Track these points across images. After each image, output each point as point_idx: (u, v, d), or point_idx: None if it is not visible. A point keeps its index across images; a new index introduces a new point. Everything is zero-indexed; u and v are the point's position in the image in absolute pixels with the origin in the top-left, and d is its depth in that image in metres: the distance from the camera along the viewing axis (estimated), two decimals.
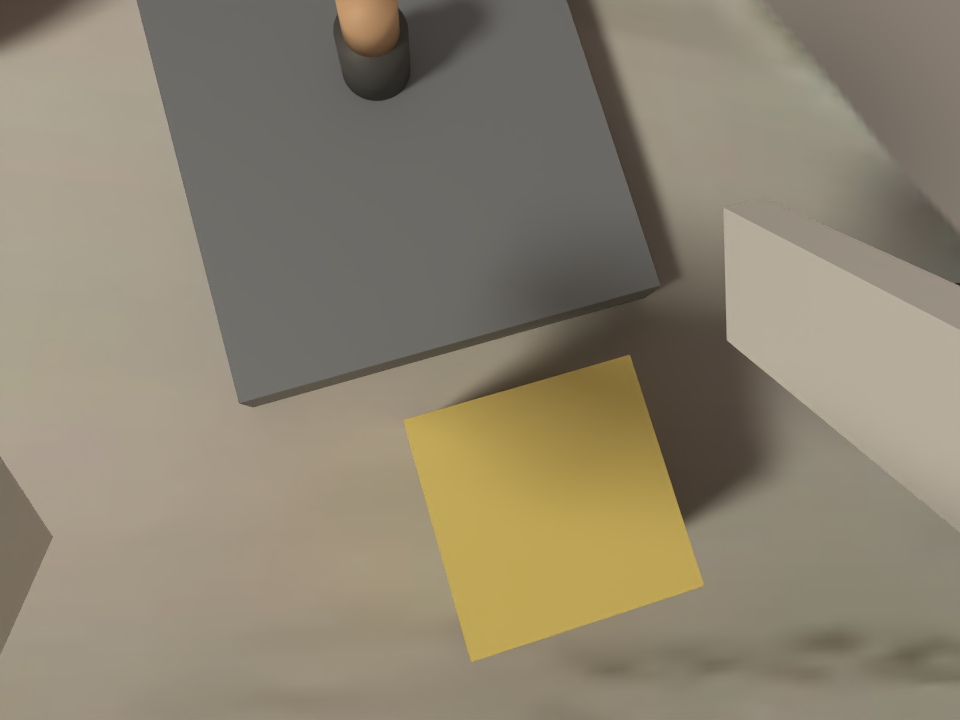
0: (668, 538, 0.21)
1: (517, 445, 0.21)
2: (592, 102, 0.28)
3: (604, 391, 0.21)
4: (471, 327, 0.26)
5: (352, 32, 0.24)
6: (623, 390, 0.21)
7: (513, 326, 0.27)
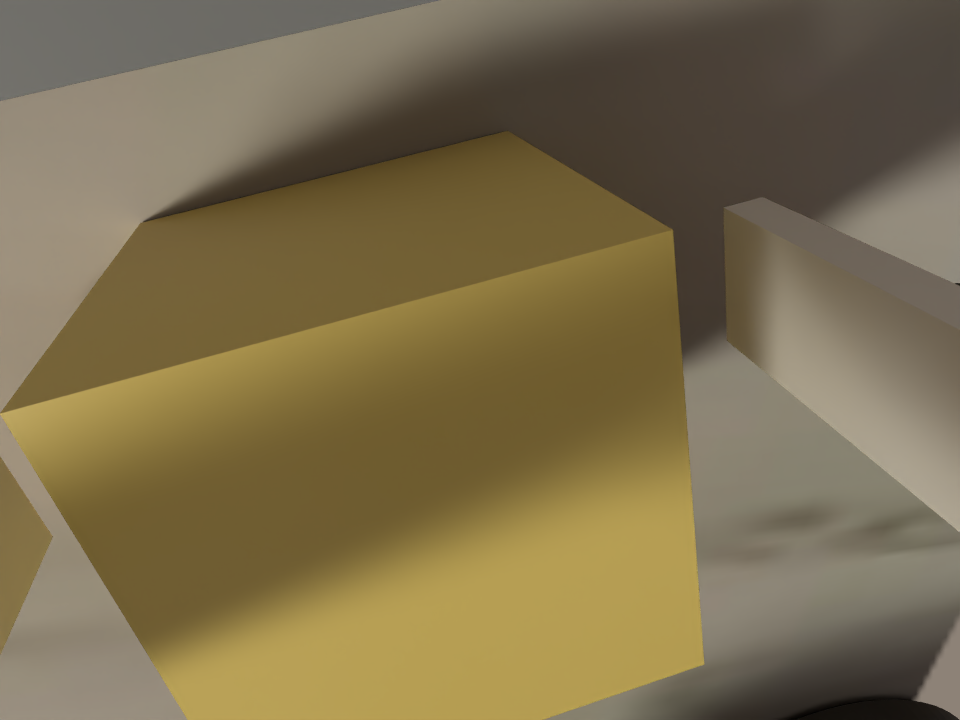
0: (661, 603, 0.10)
1: (347, 460, 0.08)
2: None
3: (587, 326, 0.08)
4: (253, 12, 0.10)
5: None
6: (635, 323, 0.08)
7: (363, 16, 0.11)
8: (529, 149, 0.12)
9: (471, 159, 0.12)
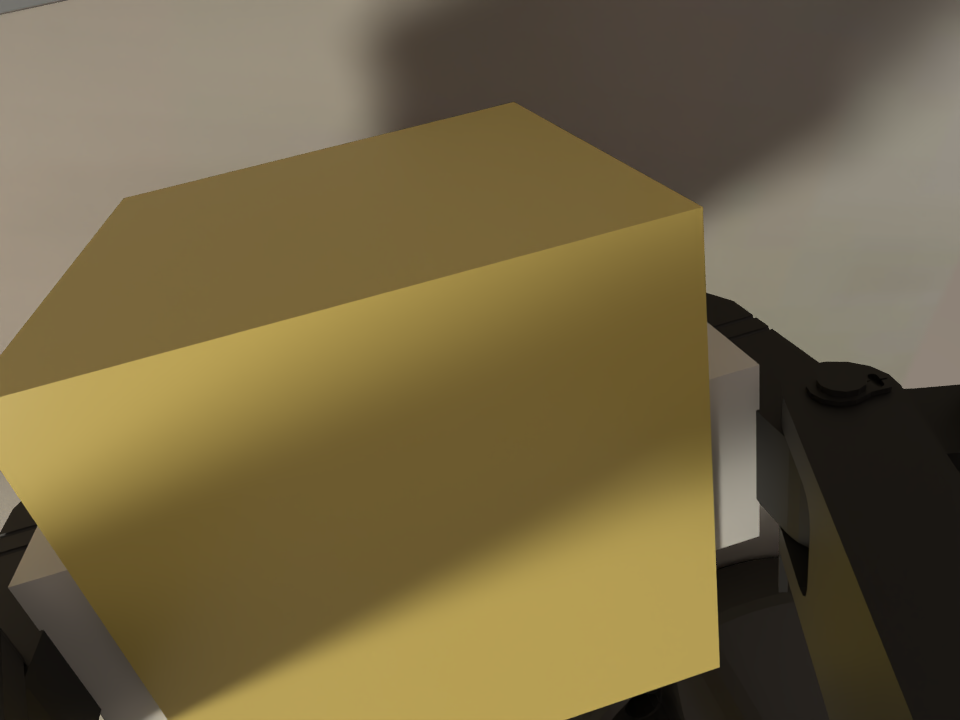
0: (677, 606, 0.10)
1: (344, 457, 0.07)
2: None
3: (606, 313, 0.07)
4: None
5: None
6: (659, 309, 0.07)
7: None
8: (538, 121, 0.11)
9: (476, 131, 0.12)
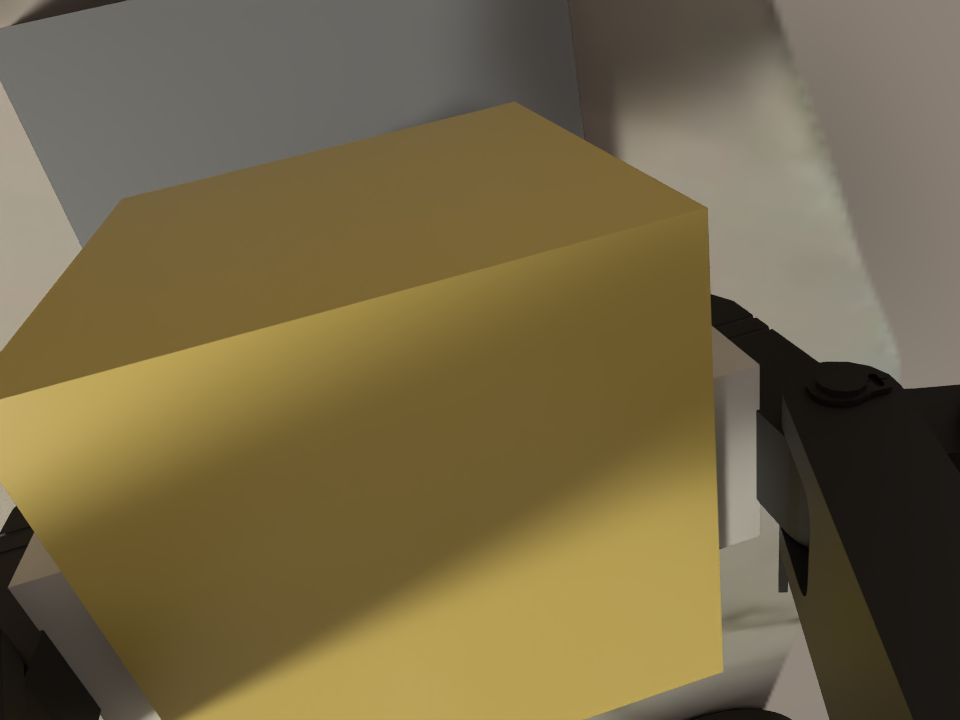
0: (680, 610, 0.10)
1: (345, 461, 0.07)
2: None
3: (610, 315, 0.07)
4: None
5: None
6: (663, 311, 0.07)
7: None
8: (539, 121, 0.11)
9: (477, 131, 0.11)
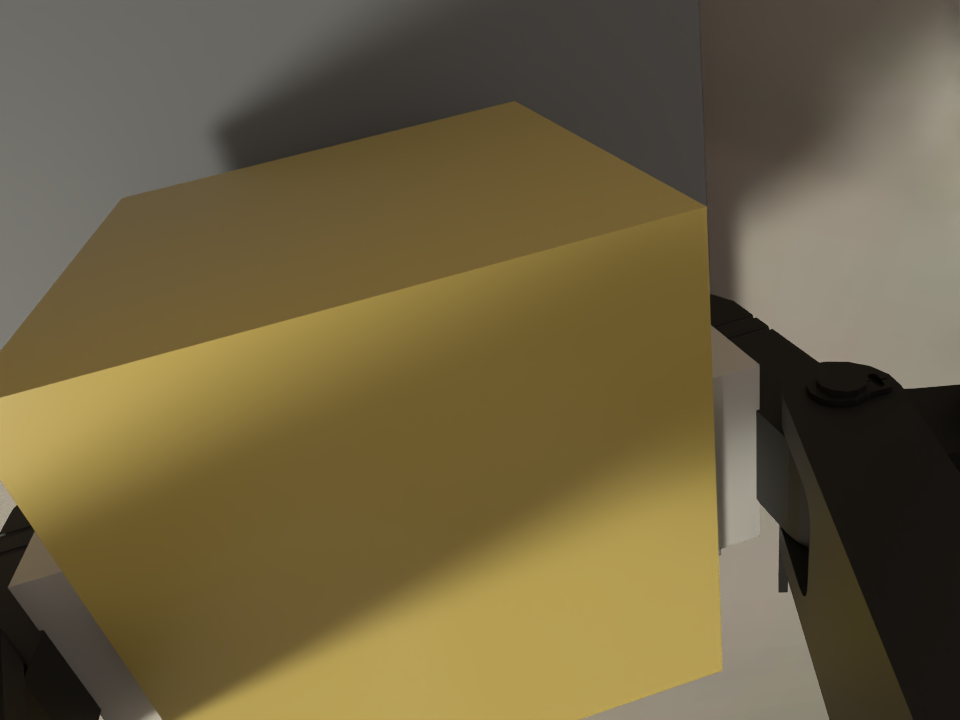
0: (679, 609, 0.10)
1: (344, 460, 0.07)
2: None
3: (609, 314, 0.07)
4: None
5: None
6: (662, 310, 0.07)
7: None
8: (539, 120, 0.11)
9: (476, 130, 0.11)
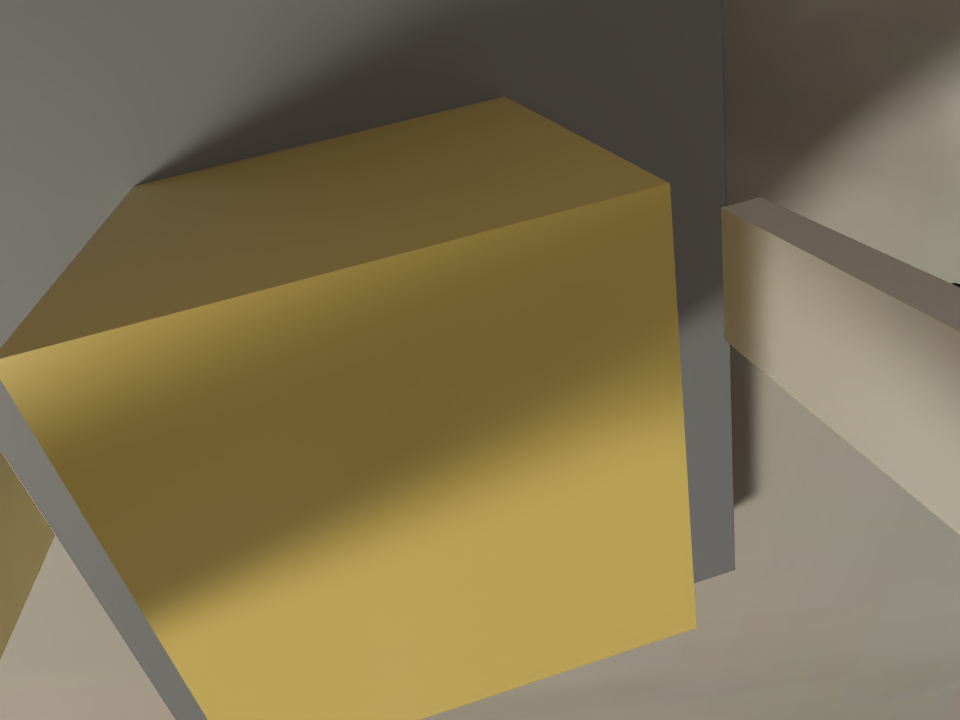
0: (654, 566, 0.10)
1: (341, 415, 0.08)
2: (718, 350, 0.18)
3: (582, 282, 0.08)
4: None
5: None
6: (631, 279, 0.08)
7: None
8: (526, 113, 0.12)
9: (467, 123, 0.12)
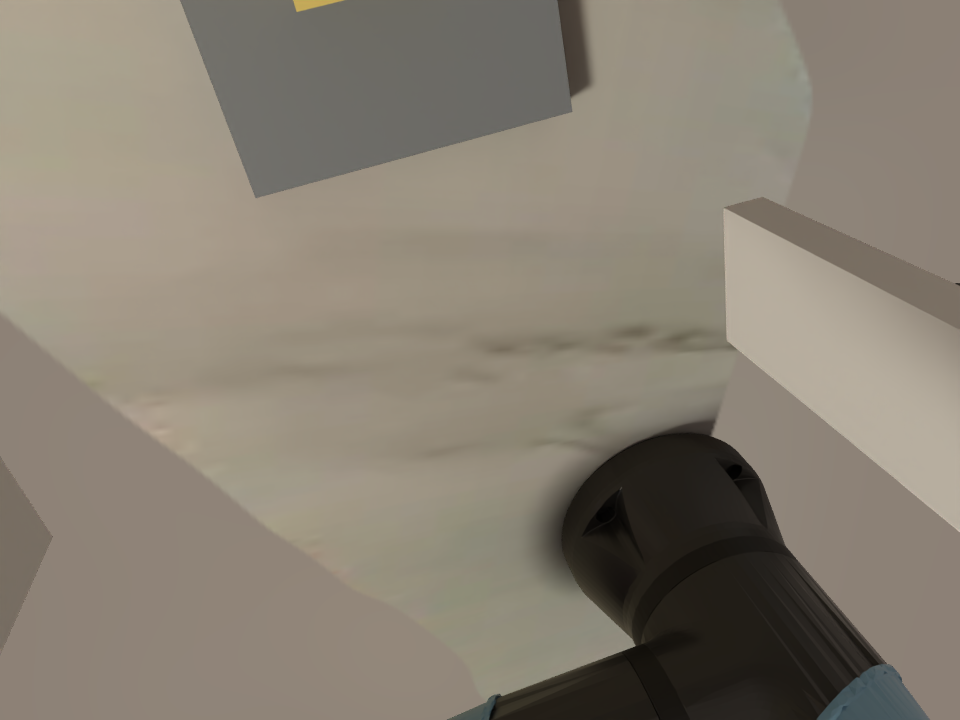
0: None
1: None
2: None
3: None
4: (429, 142, 0.35)
5: None
6: None
7: (460, 141, 0.35)
8: None
9: None
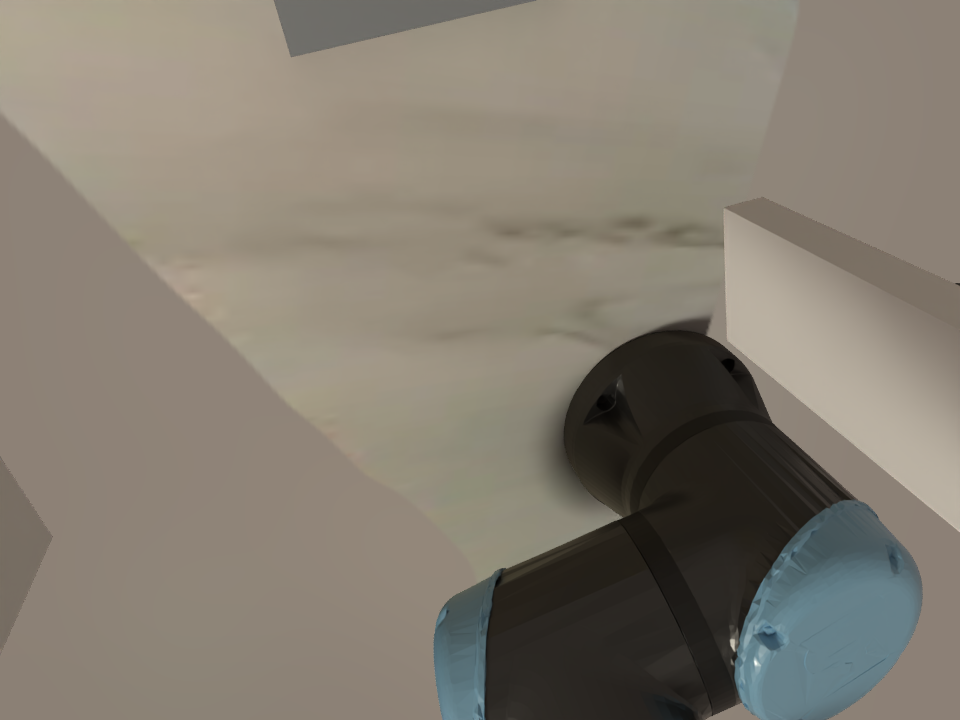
0: None
1: None
2: None
3: None
4: (449, 12, 0.38)
5: None
6: None
7: (477, 13, 0.39)
8: None
9: None
